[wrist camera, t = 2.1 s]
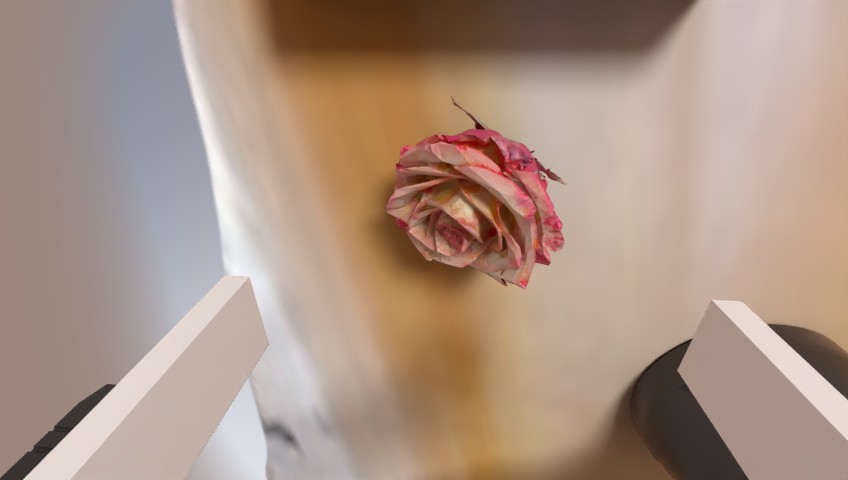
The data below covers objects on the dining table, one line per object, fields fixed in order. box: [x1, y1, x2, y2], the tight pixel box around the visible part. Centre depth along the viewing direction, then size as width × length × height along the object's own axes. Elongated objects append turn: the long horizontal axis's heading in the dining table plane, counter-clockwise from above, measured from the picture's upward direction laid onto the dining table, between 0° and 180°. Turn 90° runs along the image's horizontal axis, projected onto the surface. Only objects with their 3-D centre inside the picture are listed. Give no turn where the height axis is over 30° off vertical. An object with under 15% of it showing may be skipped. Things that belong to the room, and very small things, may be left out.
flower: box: [385, 96, 566, 289], centre depth 19 cm, size 10×9×8 cm
